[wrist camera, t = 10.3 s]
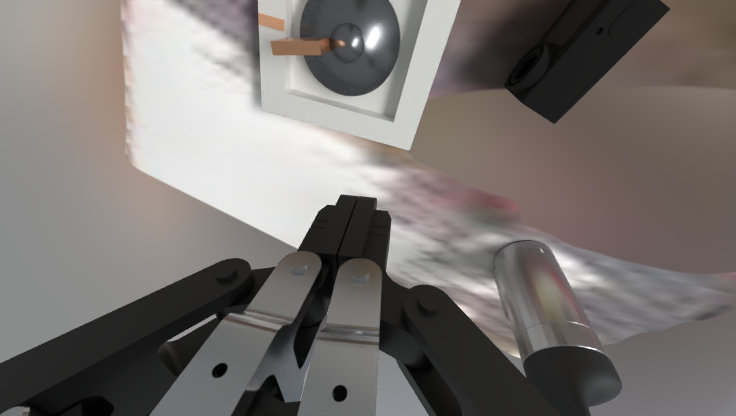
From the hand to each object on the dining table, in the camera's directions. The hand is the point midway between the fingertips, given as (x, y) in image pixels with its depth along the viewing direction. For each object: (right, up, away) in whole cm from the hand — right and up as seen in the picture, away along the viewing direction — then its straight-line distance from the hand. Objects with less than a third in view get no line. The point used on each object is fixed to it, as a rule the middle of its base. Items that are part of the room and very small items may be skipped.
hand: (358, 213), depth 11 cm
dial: (-1, +19, +19) cm, 27 cm away
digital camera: (+20, +17, +17) cm, 31 cm away
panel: (-1, +20, +19) cm, 27 cm away
